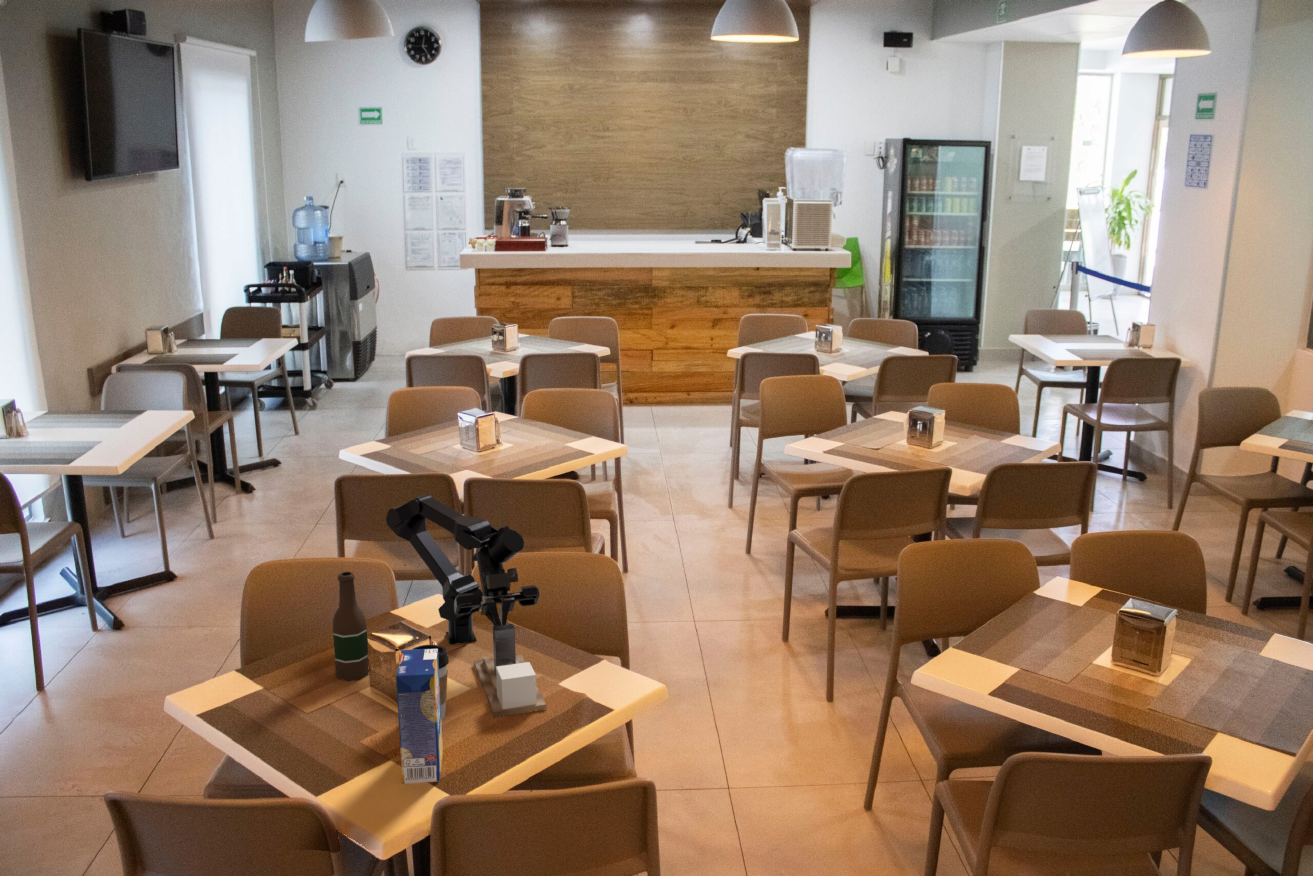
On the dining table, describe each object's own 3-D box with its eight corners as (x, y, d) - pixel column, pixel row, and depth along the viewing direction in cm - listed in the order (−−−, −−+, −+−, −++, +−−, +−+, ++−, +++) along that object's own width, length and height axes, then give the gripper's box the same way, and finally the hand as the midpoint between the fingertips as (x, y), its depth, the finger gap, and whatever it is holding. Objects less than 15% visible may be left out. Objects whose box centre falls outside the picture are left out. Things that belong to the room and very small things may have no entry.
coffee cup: (429, 731, 225) (425, 663, 221) (401, 718, 230) (397, 652, 226) (459, 715, 231) (457, 649, 228) (432, 702, 236) (429, 638, 233)
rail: (474, 665, 253) (473, 655, 253) (521, 659, 257) (521, 648, 256) (494, 717, 230) (494, 706, 230) (546, 709, 234) (546, 698, 233)
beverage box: (442, 750, 218) (437, 648, 212) (439, 781, 207) (434, 674, 202) (407, 753, 217) (401, 649, 211) (402, 784, 206) (395, 676, 201)
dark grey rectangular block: (494, 672, 247) (492, 626, 244) (513, 669, 248) (512, 623, 246) (502, 691, 238) (501, 644, 236) (522, 688, 240) (521, 641, 237)
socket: (497, 695, 237) (496, 666, 235) (530, 690, 239) (529, 661, 238) (502, 709, 231) (501, 679, 230) (536, 704, 234) (535, 674, 232)
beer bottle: (375, 666, 253) (369, 567, 246) (363, 682, 245) (356, 581, 239) (342, 664, 253) (335, 566, 247) (329, 680, 246) (321, 579, 240)
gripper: (453, 561, 244) (464, 627, 237) (536, 551, 250) (549, 616, 243) (449, 581, 253) (459, 646, 246) (529, 572, 259) (541, 634, 252)
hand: (502, 635), depth 247 cm, fingers closed
